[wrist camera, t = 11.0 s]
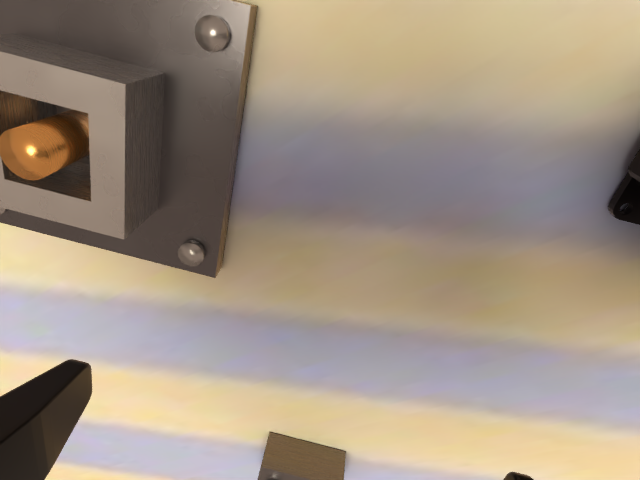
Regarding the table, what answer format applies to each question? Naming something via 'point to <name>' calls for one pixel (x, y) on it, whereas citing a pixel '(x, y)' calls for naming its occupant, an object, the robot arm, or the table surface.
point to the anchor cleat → (300, 460)
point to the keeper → (178, 115)
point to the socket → (104, 134)
